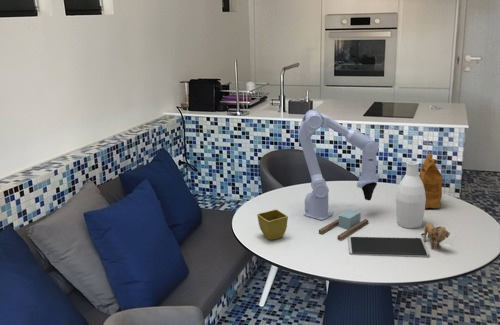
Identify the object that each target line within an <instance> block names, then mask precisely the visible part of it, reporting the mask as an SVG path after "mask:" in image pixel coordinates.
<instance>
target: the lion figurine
mask: <svg viewBox="0 0 500 325" xmlns="http://www.w3.org/2000/svg"><path fill="white" fill-rule="evenodd" d="M423 230H424V232H423V233H421V234H420V235H421V236H423V238H422V239H423V240H424V242H425V243H427V238H428V239H430V250H435V247H436V248H437V249H441V248H442V247H441V245H440V243H443V242H442V241H445V240H446V239H448V238H449V237H450V235H451V232H449V231H448V230H447V229H446V227H445V226H436V227H434V225H433V224H432V223H429V222H428V223H426V224H425V226H424V229H423ZM435 243H436V246H435Z"/></svg>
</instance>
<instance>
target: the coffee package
mask: <svg viewBox="0 0 500 325" xmlns="http://www.w3.org/2000/svg"><path fill="white" fill-rule="evenodd" d="M433 156H434V155H433V154H432V153H430V152H428V153H427V156H426V158H425V159H424V162H423V163H422V165H421V167H420V171H419V173H418V175H419V177H420V179H421V181H422V182H423V185H424V189H425V196H426V203H425V209H439V208H441V202H442V196H443V175H442V174H441V172H440V170H439V169H438V167H437V165H436V164H438V160H437V159H434V158H433Z"/></svg>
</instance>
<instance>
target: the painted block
mask: <svg viewBox="0 0 500 325" xmlns="http://www.w3.org/2000/svg"><path fill="white" fill-rule="evenodd" d="M338 219H339V225H338V228H341V229H344V230H348V229H350V228H351V227H353V226H354V225H356V224H358V223H359V222H361V212H360V211H358V210H353V209H347V210H346V211H344V212H343V213H340V214H339V215H338Z"/></svg>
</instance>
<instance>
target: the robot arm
mask: <svg viewBox="0 0 500 325" xmlns="http://www.w3.org/2000/svg"><path fill="white" fill-rule="evenodd" d="M320 128H321V129H327V128H329V129H330V130H333V131H335V132H336V133H337V134H340V135H342V136H344V138H345V141H346V142H347V143H349V144H351V145H352V146H354V147H355V148H358V149H359V150H362V154H361V175H360V176H361V177H360V179H359V180H358V182H357V184H356V187H357V188H360V189H361V190H362V193H363V197H364V200H365V201H371V200H372V197H373V194H374V190H375V189H376V187H377V185H378V183H377V182H379V180H380V174H379V173H377V153H378V151H379V149H380V148H379V145H378V144H377V142H376V141H375V140H374V139H373V138H372V137H370V136H369V135H366V134H363V133H362V132H361V130H359V129H358V128H356V129H355V128H347V127H346V126H344V125H342V124H341V123H339V122H338V121H337V120H335V119H333V118H332V117H330V116H329V115H327V114H325V113H323V112H319V111H318V110H316V109H310V110H308V111H306V113H305V114H304V115H303V116H302V119H301V123H300V126H299V130H298V133H297V134H298V135H297V136H298V139H299V141H300V142H299V143H300V146H301V148H302V151H303V156H304V159H305V162H306V165H307V169H308V171H309V176H310V179H311V182H310V187H311V188H312V191H311V192H309V193H307V194H306V195H305V199H304V213H303V215H304V216H306V217H309V218H312V219H316V220H319V221H324V220H326V219H327V218H329V217H331V216H333V213H332V212H329V190H330V189H329V187H328V184H327V182H326V179H325V178H324V177H323V175H322V174H323V173H322V172H321V168H320V165H319V162H318V158H317V155H316V152H315V151H316V150H315V147H314V145H313V142H312V136H313V135H314V134H315V132H317V130H319V129H320Z"/></svg>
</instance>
